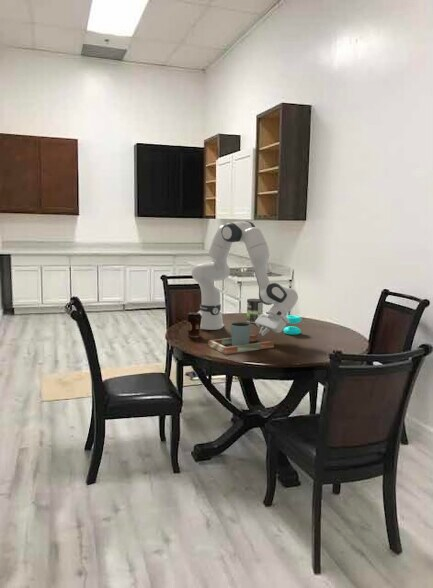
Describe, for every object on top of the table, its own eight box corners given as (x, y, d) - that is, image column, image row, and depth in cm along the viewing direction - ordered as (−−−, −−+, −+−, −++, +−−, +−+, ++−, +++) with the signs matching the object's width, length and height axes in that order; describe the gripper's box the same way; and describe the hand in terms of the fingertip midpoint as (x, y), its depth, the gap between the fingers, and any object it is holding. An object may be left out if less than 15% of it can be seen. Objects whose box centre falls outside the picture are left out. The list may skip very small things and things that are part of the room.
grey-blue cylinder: (247, 350, 245) (248, 326, 243) (227, 348, 247) (228, 325, 246) (251, 345, 254) (252, 322, 252) (232, 343, 257) (233, 321, 255)
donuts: (303, 315, 283) (298, 318, 274) (303, 332, 284) (297, 336, 276) (287, 314, 287) (281, 316, 279) (286, 330, 289) (280, 334, 280)
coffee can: (250, 323, 307) (250, 301, 305) (244, 320, 317) (244, 298, 315) (265, 322, 310) (265, 300, 308) (258, 319, 320) (259, 298, 318)
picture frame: (208, 346, 251) (208, 340, 251) (255, 339, 265) (255, 334, 265) (225, 354, 237) (225, 348, 236) (273, 347, 251) (274, 341, 250)
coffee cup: (187, 338, 267) (187, 314, 265) (184, 334, 275) (184, 312, 273) (203, 337, 269) (203, 314, 267) (199, 334, 277) (199, 311, 275)
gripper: (261, 307, 267) (246, 327, 264) (284, 314, 249) (268, 334, 246) (268, 315, 270) (253, 334, 266) (291, 322, 252) (275, 342, 249)
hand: (260, 334), depth 256 cm, fingers closed
